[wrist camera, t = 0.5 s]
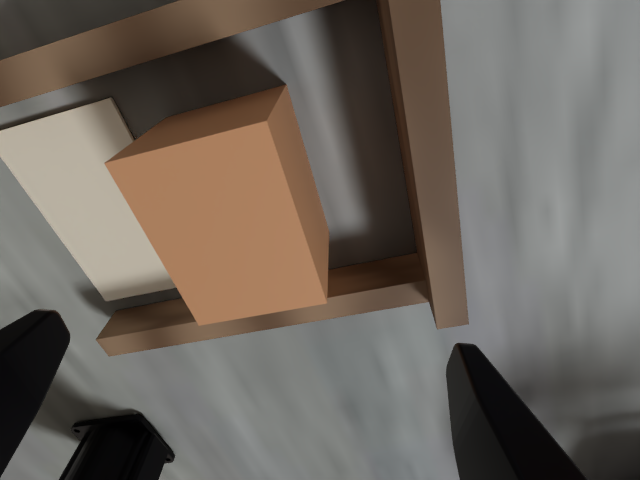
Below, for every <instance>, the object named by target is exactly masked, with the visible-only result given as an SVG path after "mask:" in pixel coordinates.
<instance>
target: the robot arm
mask: <svg viewBox="0 0 640 480" xmlns="http://www.w3.org/2000/svg"><path fill="white" fill-rule="evenodd" d="M69 342H70V333H69V331H68V329H67V327H66V325H65V323H64V321H63V319H62V318H61V316H60V314H59V313H58V312H57V311H55V310H47V309H37V310H34V311H32V312H30V313H29V314H27V315H25V316H23V317H22V318H20V319H18V320H16V321H15V322H13V323H11V324H9V325H8V326H6V327H4V328H2V329H1V330H0V477H1V475H2V474H3V472H4V470H5V468H6V467H7V465H8V463H9V461H10V460H11V458H12V456H13V454H14V453H15V451H16V449H17V447H18V446H19V444H20V442H21V440H22V439H23V437H24V435H25V433H26V432H27V430H28V428H29V426H30V425H31V423H32V421H33V419H34V418H35V416H36V414H37V412H38V410H39V408H40V407H41V405H42V402H43V400H44V398H45V396H46V394H47V392H48V390H49V387H50V385H51V383H52V381H53V378H54V376H55V374H56V372H57V370H58V367H59V365H60V363H61V361H62V358H63V356H64V354H65V352H66V349H67V347H68V345H69ZM446 378H447V389H448V399H449V410H450V421H451V431H452V440H453V447H454V453H455V458H456V463H457V468H458V473H459V477H460V480H588V479H587V478H586V477H585V476H584V474H583V473H582V472H581V471H580V470H579V468H578V467H577V466H576V465H575V464H574V462H573V461H572V460H571V459H570V458H569V456H568V455H567V454H566V453H565V452H564V450H563V449H562V448H561V447H560V445H559V444H558V443H557V442H556V441H555V439H554V438H553V437H552V436H551V435H550V433H549V432H548V431H547V430H546V429H545V427H544V426H543V425H542V424H541V423H540V421H539V420H538V419H537V418H536V417H535V415H534V414H533V413H532V412H531V411H530V409H529V408H528V407H527V406H526V405H525V403H524V402H523V401H522V400H521V399H520V397H519V396H518V395H517V394H516V392H515V391H514V390H513V389H512V388H511V386H510V385H509V384H508V383H507V382H506V380H505V379H504V378H503V377H502V376H501V374H500V373H499V372H498V371H497V370H496V368H495V367H494V366H493V365H492V364H491V362H490V361H489V360H488V359H487V358H486V356H485V355H484V354H483V353H482V352H481V350H480V349H479V348H478V347H477V346H476V345H474V344H467V343H457V344H455V345H454V347H453V350H452V353H451V356H450V358H449V361H448V364H447V368H446ZM71 431H72V433H73V434H75V435H76V436H77V437H78V438H79V439H80V440H81V442H80V443H79V445H78V447H77V449H76V450H75V452H74V454H73V456H72V457H71V459H70V461H69V463H68V464H67V466H66V468H65V470H64V471H63V473H62V475H61V477H60V478H59V480H158V479H159V477H160V474H161V471H162V468H163V466H164V463H171V462H173V461H174V458H175V454H174V453H173V452H172V451H171V450H170V448H169V447H168V446H167V445H166V444H165V442H164V441H163V440H162V439H161V438H160V436H159V435H158V434H157V433H156V431H155V430H154V429H153V428H152V427H151V425H150V424H149V423H148V422H147V421H146V419H145V418H144V417H143V416H141V415H129V416H122V417H115V418H108V419H101V420H94V421H87V422H79V423H74V424H73V426H72V428H71Z"/></svg>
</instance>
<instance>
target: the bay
mask: <svg viewBox="0 0 640 480" xmlns="http://www.w3.org/2000/svg"><path fill="white" fill-rule="evenodd" d="M341 1H344V0H179V1H176V2H173V3H170V4H167V5H164V6H161V7H158V8H155V9H152V10H149V11H146V12H143V13H140V14H137V15H134V16H131V17H128V18H125V19H122V20H119V21H116V22H113V23H110V24H107V25H104V26H101V27H98V28H95V29H92V30H89V31H86V32H83V33H80V34H77V35H74V36H71V37H68V38H65V39H62V40H59V41H56V42H53V43H50V44H47V45H44V46H41V47H38V48H35V49H32V50H29V51H26V52H23V53H20V54H17V55H14V56H11V57H8V58H5V59H2V60H0V107H2V106H5V105H9V104H12V103H15V102H18V101H22V100H25V99H28V98H31V97H34V96H38V95H41V94H44V93H47V92H51V91H54V90H57V89H60V88H63V87H67V86H70V85H73V84H76V83H80V82H83V81H86V80H89V79H92V78H96V77H99V76H102V75H105V74H109V73H112V72H115V71H118V70H122V69H125V68H128V67H131V66H134V65H138V64H141V63H144V62H147V61H151V60H154V59H157V58H160V57H163V56H167V55H170V54H173V53H176V52H180V51H183V50H186V49H189V48H193V47H196V46H199V45H202V44H205V43H209V42H212V41H215V40H218V39H222V38H225V37H228V36H231V35H234V34H238V33H241V32H244V31H247V30H251V29H254V28H257V27H260V26H263V25H267V24H270V23H273V22H276V21H280V20H283V19H286V18H289V17H293V16H296V15H299V14H302V13H305V12H309V11H312V10H315V9H318V8H322V7H325V6H328V5H331V4H334V3H338V2H341ZM376 2H377V9H378V15H379V21H380V27H381V33H382V39H383V45H384V52H385V58H386V64H387V70H388V76H389V82H390V89H391V95H392V101H393V107H394V113H395V119H396V126H397V132H398V138H399V144H400V150H401V156H402V163H403V169H404V175H405V181H406V187H407V193H408V200H409V206H410V212H411V218H412V224H413V230H414V237H415V243H416V249H417V253H414V254H408V255H403V256H398V257H393V258H388V259H382V260H377V261H372V262H367V263H362V264H356V265H351V266H346V267H341V268H336V269H330V270H328V291H327V304H321V305H315V306H310V307H304V308H298V309H292V310H287V311H281V312H275V313H269V314H264V315H258V316H252V317H246V318H241V319H235V320H229V321H223V322H218V323H212V324H206V325H200V326H199V325H198V323H197V322H196V320H195V318H194V317H193V315H192V313H191V311H190V310H189V308H188V306H187V305H186V303H185V301H184V299H183V298H180V299H174V300H169V301H164V302H159V303H154V304H149V305H143V306H138V307H133V308H128V309H123V310H117V311H115V313H114V314H113V315H112V317H111V318H110V320H109V321H108V323H107V324H106V326H105V327H104V328H103V330H102V331H101V333H100V334H99V336H98V337H97V338H96V341H97V342H98V343H99V344H100V346H101V347H102V348H103V349H104V351H105V352H106V353H107V354H108V356H115V355H120V354H126V353H132V352H138V351H144V350H150V349H156V348H161V347H167V346H173V345H179V344H185V343H191V342H197V341H202V340H208V339H214V338H220V337H226V336H232V335H238V334H243V333H249V332H255V331H261V330H267V329H273V328H279V327H285V326H290V325H296V324H302V323H308V322H314V321H320V320H326V319H331V318H337V317H343V316H349V315H355V314H361V313H367V312H372V311H378V310H384V309H390V308H396V307H402V306H408V305H413V304H419V303H425V302H429V303H430V307H431V310H432V313H433V317H434V320H435V323H436V327H437V329H442V328H448V327H454V326H461V325H467V324H469V321H468V310H467V299H466V287H465V276H464V265H463V253H462V242H461V231H460V219H459V208H458V197H457V185H456V174H455V163H454V151H453V140H452V129H451V117H450V106H449V95H448V83H447V72H446V61H445V49H444V38H443V27H442V15H441V4H440V0H376ZM134 141H135V140H134V138H133V136H132V134H131V132H130V130H129V128H128V127H127V125H126V123H125V121H124V119H123V117H122V115H121V113H120V111H119V109H118V108H117V106H116V104H115V102H114V100H113V98H112V97H111V98H108V99H104V100H101V101H98V102H94V103H91V104H88V105H84V106H81V107H78V108H74V109H71V110H67V111H64V112H61V113H57V114H54V115H51V116H47V117H44V118H41V119H37V120H34V121H31V122H27V123H24V124H20V125H17V126H14V127H10V128H7V129H4V130H0V157H1V158H2V160H3V161H4V162H5V164H6V165H7V166H8V168H9V169H10V171H11V172H12V173H13V175H14V176H15V177H16V179H17V180H18V182H19V183H20V184H21V186H22V187H23V188H24V190H25V191H26V193H27V194H28V195H29V197H30V198H31V199H32V201H33V202H34V204H35V205H36V206H37V208H38V209H39V210H40V212H41V213H42V214H43V216H44V217H45V219H46V220H47V221H48V223H49V224H50V225H51V227H52V228H53V230H54V231H55V232H56V234H57V235H58V236H59V238H60V239H61V241H62V242H63V243H64V245H65V246H66V247H67V249H68V250H69V252H70V253H71V254H72V256H73V257H74V258H75V260H76V261H77V263H78V264H79V265H80V267H81V268H82V269H83V271H84V272H85V274H86V275H87V276H88V278H89V279H90V280H91V282H92V283H93V284H94V286H95V287H96V289H97V290H98V291H99V293H100V294H101V295H102V297H103V298H104V300H105V301H111V300H116V299H121V298H126V297H131V296H136V295H141V294H146V293H151V292H157V291H162V290H167V289H172V288H177V287H176V286H175V284H174V282H173V281H172V279H171V277H170V275H169V274H168V272H167V270H166V269H165V267H164V265H163V263H162V262H161V260H160V258H159V257H158V255H157V253H156V251H155V250H154V248H153V246H152V245H151V243H150V241H149V239H148V238H147V236H146V234H145V233H144V231H143V229H142V227H141V226H140V224H139V222H138V221H137V219H136V217H135V215H134V214H133V212H132V210H131V209H130V207H129V205H128V203H127V202H126V200H125V198H124V197H123V195H122V193H121V191H120V190H119V188H118V186H117V185H116V183H115V181H114V179H113V178H112V176H111V174H110V173H109V171H108V169H107V167H106V166H105V164H104V163H105V162H106V161H108V160H109V159H110V158H112V157H113V156H114V155H116V154H117V153H119V152H120V151H121V150H123V149H124V148H125V147H127V146H128V145H129V144H131V143H132V142H134Z"/></svg>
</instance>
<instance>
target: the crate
mask: <svg viewBox="0 0 640 480" xmlns="http://www.w3.org/2000/svg"><path fill="white" fill-rule="evenodd" d="M104 164H105V166H106V167H107V169H108V171H109V173H110V174H111V176H112V178H113V179H114V181H115V183H116V185H117V186H118V188H119V190H120V191H121V193H122V195H123V197H124V198H125V200H126V202H127V203H128V205H129V207H130V209H131V210H132V212H133V214H134V215H135V217H136V219H137V221H138V222H139V224H140V226H141V227H142V229H143V231H144V233H145V234H146V236H147V238H148V239H149V241H150V243H151V245H152V246H153V248H154V250H155V251H156V253H157V255H158V257H159V258H160V260H161V262H162V263H163V265H164V267H165V269H166V270H167V272H168V274H169V275H170V277H171V279H172V281H173V282H174V284H175V286H176V287H177V289H178V291H179V293H180V294H181V296H182V298H183V299H184V301H185V303H186V305H187V306H188V308H189V310H190V311H191V313H192V315H193V317H194V318H195V320H196V322H197V323H198V325H199V326H200V325H206V324H212V323H218V322H223V321H229V320H235V319H241V318H246V317H252V316H258V315H264V314H269V313H275V312H281V311H287V310H292V309H298V308H304V307H310V306H315V305H321V304H327V291H328V257H329V230H328V226H327V223H326V219H325V216H324V212H323V209H322V206H321V202H320V199H319V195H318V192H317V188H316V185H315V181H314V178H313V175H312V171H311V168H310V164H309V161H308V157H307V154H306V150H305V147H304V143H303V140H302V137H301V133H300V130H299V126H298V123H297V119H296V116H295V112H294V109H293V106H292V102H291V99H290V95H289V92H288V88H287V85H282V86H279V87H275V88H272V89H268V90H264V91H261V92H257V93H253V94H250V95H246V96H242V97H239V98H235V99H231V100H228V101H224V102H221V103H217V104H213V105H210V106H206V107H202V108H199V109H195V110H191V111H188V112H184V113H180V114H177V115H173V116H170V117H166V118H165V119H163V120H162V121H161V122H159V123H158V124H157V125H155V126H154V127H153V128H151V129H150V130H148V131H147V132H146V133H144V134H143V135H142V136H140V137H139V138H138V139H136V140H135V141H134V142H132V143H131V144H129V145H128V146H127V147H125V148H124V149H123V150H121V151H120V152H119V153H117V154H116V155H114V156H113V157H112V158H110V159H109V160H108V161H106V162H105V163H104Z"/></svg>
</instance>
